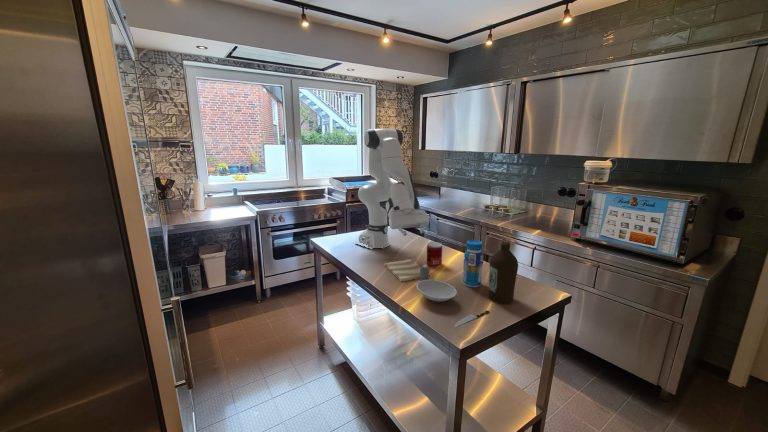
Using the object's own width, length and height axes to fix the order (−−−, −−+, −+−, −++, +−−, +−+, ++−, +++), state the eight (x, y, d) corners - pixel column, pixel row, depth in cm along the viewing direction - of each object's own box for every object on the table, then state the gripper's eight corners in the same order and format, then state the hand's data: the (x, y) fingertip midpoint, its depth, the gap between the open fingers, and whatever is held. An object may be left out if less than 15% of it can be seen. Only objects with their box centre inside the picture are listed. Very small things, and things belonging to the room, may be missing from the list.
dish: (464, 301, 121) (464, 290, 120) (441, 314, 112) (441, 302, 111) (431, 286, 134) (431, 276, 133) (408, 296, 125) (408, 285, 124)
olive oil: (507, 292, 128) (513, 236, 123) (519, 304, 118) (525, 244, 112) (483, 292, 128) (487, 236, 122) (492, 305, 118) (497, 245, 112)
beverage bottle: (458, 281, 139) (460, 240, 134) (473, 278, 142) (475, 238, 137) (470, 289, 131) (473, 246, 126) (485, 285, 134) (488, 243, 130)
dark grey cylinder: (423, 286, 134) (423, 268, 132) (418, 282, 138) (418, 264, 136) (430, 285, 135) (430, 266, 133) (425, 281, 139) (425, 263, 137)
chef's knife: (446, 325, 106) (452, 329, 103) (446, 322, 106) (452, 326, 103) (483, 310, 116) (490, 313, 113) (483, 307, 115) (490, 310, 113)
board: (384, 266, 157) (384, 263, 156) (410, 261, 162) (410, 259, 162) (400, 281, 139) (400, 278, 138) (429, 276, 144) (429, 273, 144)
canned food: (444, 263, 159) (445, 244, 157) (435, 268, 154) (436, 247, 151) (432, 260, 164) (432, 241, 162) (423, 264, 159) (424, 244, 156)
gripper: (421, 212, 155) (431, 234, 148) (384, 215, 148) (392, 239, 141) (426, 204, 150) (435, 228, 143) (388, 208, 143) (396, 232, 136)
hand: (414, 234), depth 142 cm, fingers open, 8 cm apart
